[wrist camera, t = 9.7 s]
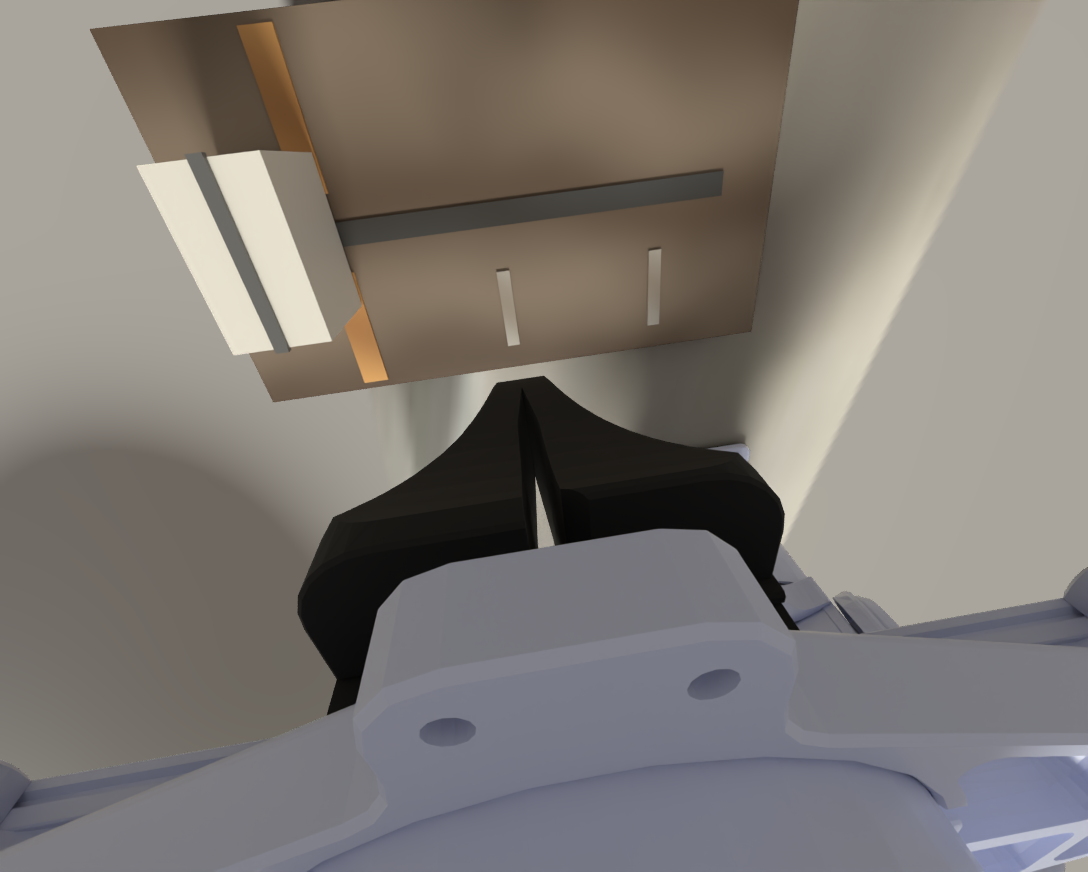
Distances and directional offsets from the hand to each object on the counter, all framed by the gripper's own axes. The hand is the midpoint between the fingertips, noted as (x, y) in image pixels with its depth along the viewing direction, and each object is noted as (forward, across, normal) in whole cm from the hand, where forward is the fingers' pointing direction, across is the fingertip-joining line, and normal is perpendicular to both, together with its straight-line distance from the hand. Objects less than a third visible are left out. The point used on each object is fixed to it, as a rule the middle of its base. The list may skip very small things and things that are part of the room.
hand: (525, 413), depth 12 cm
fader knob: (+8, +7, -4) cm, 11 cm away
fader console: (+9, 0, -4) cm, 10 cm away
